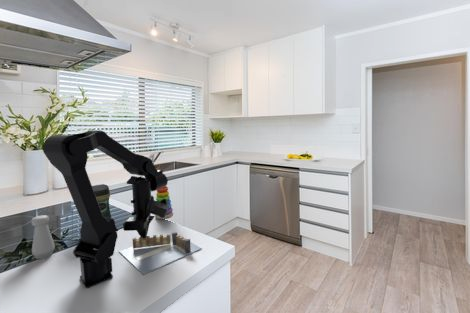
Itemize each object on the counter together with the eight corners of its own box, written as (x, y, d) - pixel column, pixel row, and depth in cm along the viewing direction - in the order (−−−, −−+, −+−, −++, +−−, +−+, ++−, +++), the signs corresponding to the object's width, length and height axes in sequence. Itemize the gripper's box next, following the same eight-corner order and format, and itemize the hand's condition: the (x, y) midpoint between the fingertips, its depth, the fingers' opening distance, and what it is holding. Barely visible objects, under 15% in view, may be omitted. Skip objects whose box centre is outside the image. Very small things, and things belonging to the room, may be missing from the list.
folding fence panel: (170, 242, 85) (170, 233, 84) (170, 243, 83) (170, 235, 83) (133, 246, 82) (133, 237, 81) (133, 248, 80) (132, 239, 80)
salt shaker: (36, 253, 79) (31, 214, 78) (57, 249, 82) (53, 212, 80) (29, 262, 74) (24, 221, 73) (52, 258, 76) (48, 218, 75)
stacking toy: (166, 212, 117) (164, 174, 114) (176, 216, 112) (175, 176, 109) (151, 217, 111) (149, 176, 108) (161, 221, 106) (160, 179, 103)
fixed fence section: (187, 254, 78) (186, 242, 77) (171, 244, 84) (171, 233, 84) (191, 252, 79) (191, 240, 79) (176, 243, 86) (175, 231, 85)
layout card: (143, 275, 67) (143, 273, 67) (118, 252, 80) (118, 251, 80) (201, 249, 81) (201, 247, 81) (172, 232, 94) (172, 232, 94)
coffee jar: (107, 225, 102) (104, 181, 99) (116, 230, 97) (112, 184, 94) (81, 233, 94) (77, 186, 92) (89, 239, 89) (85, 189, 87)
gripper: (159, 203, 72) (161, 252, 74) (172, 187, 91) (173, 227, 93) (120, 204, 72) (124, 253, 74) (141, 187, 90) (144, 228, 92)
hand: (144, 239), depth 83 cm, fingers closed
